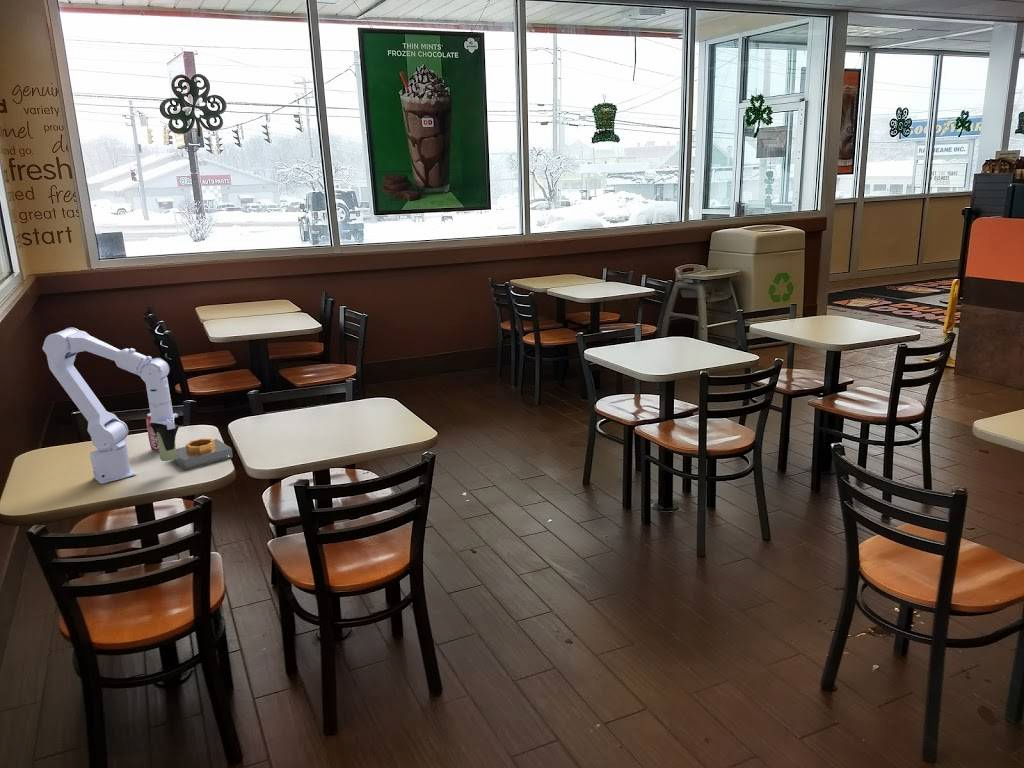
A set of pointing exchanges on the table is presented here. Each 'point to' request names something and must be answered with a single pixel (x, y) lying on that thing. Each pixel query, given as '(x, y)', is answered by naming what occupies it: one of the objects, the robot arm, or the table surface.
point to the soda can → (152, 435)
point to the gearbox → (202, 453)
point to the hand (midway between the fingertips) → (167, 447)
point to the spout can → (163, 453)
